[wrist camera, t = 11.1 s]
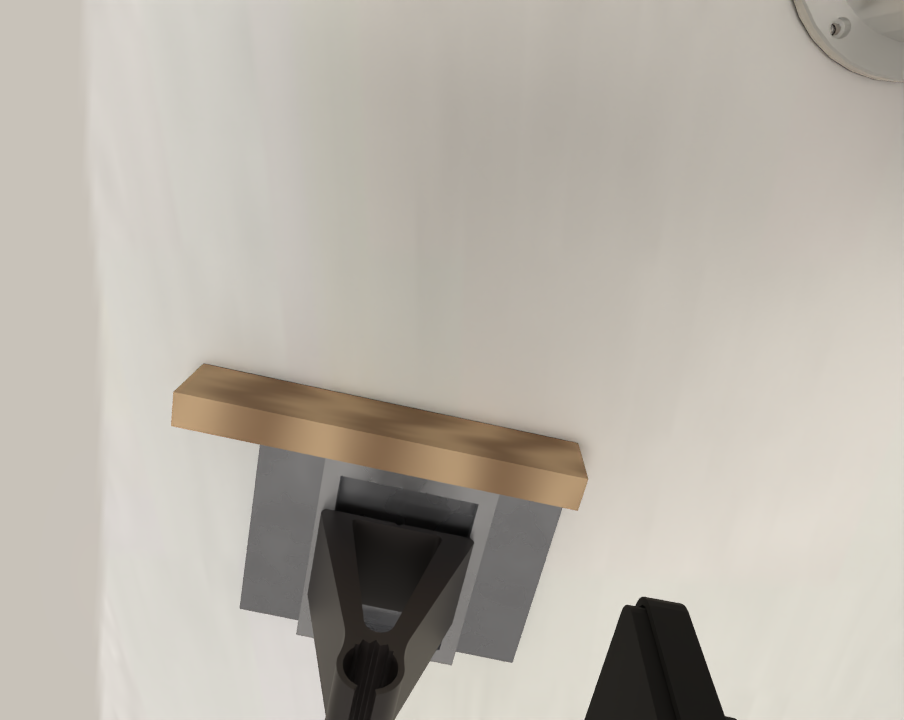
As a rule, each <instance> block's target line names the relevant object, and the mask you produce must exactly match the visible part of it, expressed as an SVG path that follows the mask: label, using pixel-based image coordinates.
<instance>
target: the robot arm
mask: <svg viewBox="0 0 904 720" xmlns="http://www.w3.org/2000/svg"><path fill="white" fill-rule="evenodd" d="M794 3H795V6H796V9H797V12H798V15H799V18H800V19H801V21H802V23H803V24H804V26H805V28H806V29H807V31H808V33H809V34H810V36H811V38H812V39H813V40H814V42H815V43H816V44H817V45H818V46H819V47H820V48H821V49H822V50H823V51H824V52H825V53H826V54H827V55H828V56H829V57H830V58H831V59H833V60H834V61H836V62H838V63H839V64H841V65H842V66H844V67H845V68H847V69H848V70H850V71H852V72H855V73H858V74H861V75H863V76H866V77H869V78H872V79H876V80H884V81H892V82H904V0H794ZM832 24H834V25H835V27H836V32H835V33H834V35H831V32H830V29H831V25H832ZM585 720H737V719H735V718H731V717H726V716H724V713H723V710H722V707H721V704H720V701H719V698H718V695H717V693H716V690H715V687H714V684H713V681H712V678H711V675H710V673H709V670H708V667H707V664H706V661H705V658H704V655H703V653H702V650H701V647H700V644H699V641H698V638H697V635H696V633H695V630H694V627H693V624H692V621H691V618H690V615H689V612H688V610H687V608H686V607H685V606H684V605H683V604H680V603H675V602H670V601H664V600H659V599H653V598H648V597H641V598H640V599H639V600H638V601H637V604H636V606H631V605H625V606H624V607H623V609H622V612H621V614H620V617H619V620H618V623H617V626H616V629H615V632H614V635H613V638H612V641H611V644H610V647H609V650H608V653H607V655H606V658H605V661H604V664H603V667H602V670H601V673H600V676H599V679H598V682H597V685H596V688H595V691H594V694H593V696H592V699H591V702H590V705H589V708H588V711H587V714H586V717H585Z"/></svg>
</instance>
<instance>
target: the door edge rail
mask: <svg viewBox="0 0 904 720" xmlns="http://www.w3.org/2000/svg"><path fill="white" fill-rule="evenodd" d="M171 426H174V427H179V428H183V429H188V430H193V431H198V432H203V433H207V434H212V435H217V436H222V437H226V438H231V439H236V440H241V441H246V442H250V443H255V444H260V445H265V446H270V447H274V448H279V449H284V450H289V451H294V452H298V453H303V454H308V455H313V456H318V457H322V458H327V459H332V460H337V461H342V462H346V463H351V464H356V465H361V466H366V467H370V468H375V469H380V470H385V471H390V472H394V473H399V474H404V475H409V476H414V477H418V478H423V479H428V480H433V481H438V482H442V483H447V484H452V485H457V486H462V487H466V488H471V489H476V490H481V491H486V492H490V493H495V494H500V495H505V496H510V497H514V498H519V499H524V500H529V501H534V502H538V503H543V504H548V505H553V506H558V507H562V508H567V509H572V510H577V511H578V508H579V505H580V502H581V499H582V496H583V493H584V490H585V487H586V484H587V481H588V477H587V473H586V469H585V466H584V462H583V459H582V455H581V452H580V448H579V445H578V443H575V442H570V441H565V440H560V439H556V438H551V437H546V436H542V435H537V434H532V433H527V432H523V431H518V430H513V429H509V428H504V427H499V426H494V425H490V424H485V423H480V422H476V421H471V420H466V419H461V418H457V417H452V416H447V415H443V414H438V413H433V412H428V411H424V410H419V409H414V408H410V407H405V406H400V405H396V404H391V403H386V402H381V401H377V400H372V399H367V398H363V397H358V396H353V395H348V394H344V393H339V392H334V391H330V390H325V389H320V388H315V387H311V386H306V385H301V384H297V383H292V382H287V381H282V380H278V379H273V378H268V377H264V376H259V375H254V374H249V373H245V372H240V371H235V370H231V369H226V368H221V367H217V366H212V365H207V364H203V365H202V366H200V367H199V368H198V369H197V370H196V371H195V372H194V373H193V374H192V375H191V376H190V377H189V378H188V379H187V380H186V381H185V382H183V383H182V384H181V385H180V386H179V387H178V388H177V389H176V390H175V391H174V392H173V406H172V420H171Z"/></svg>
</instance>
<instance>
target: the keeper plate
mask: <svg viewBox="0 0 904 720" xmlns="http://www.w3.org/2000/svg"><path fill="white" fill-rule="evenodd" d="M325 509H329V510H334V511H339V512H344V513H349V514H354V515H359V516H364V517H369V518H374V519H378V520H383V521H388V522H393V523H396V525H398V526H401V525H402V524H403V525H408V526H413V527H418V528H423V529H428V530H432V531H437V532H442V533H447V534H452V535H457V536H462V537H467V538H470V539H472V540H473V541H474V545H473V549H472V553H471V557H470V560H469V564H468V568H467V571H466V575H465V579H464V582H463V586H462V590H461V594H460V597H459V601H458V605H457V608H456V612H455V616H454V620H453V623H452V625H451V627H450V628H449V630H448V632H447V633H446V635H445V637H444V638H443V640H442V642H441V643H440V645H439V647H438V648H437V650H436V652H435V653H434V655H433V657H432V658H431V660H430V661H433V662H438V663H443V664H448V665H452V662H453V659H454V655H455V652H460V653H466V654H471V655H476V656H481V657H486V658H491V659H496V660H501V661H506V662H511V663H512V662H513V659H514V656H515V653H516V650H517V647H518V644H519V641H520V638H521V634H522V631H523V628H524V625H525V622H526V619H527V616H528V613H529V610H530V607H531V603H532V600H533V597H534V594H535V591H536V588H537V585H538V582H539V579H540V576H541V572H542V569H543V566H544V563H545V560H546V557H547V554H548V551H549V548H550V545H551V541H552V538H553V535H554V532H555V529H556V526H557V523H558V520H559V517H560V514H561V510H562V507H558V506H553V505H548V504H543V503H538V502H534V501H529V500H524V499H519V498H514V497H510V496H505V495H500V494H495V493H490V492H486V491H481V490H476V489H471V488H466V487H462V486H457V485H452V484H447V483H442V482H438V481H433V480H428V479H423V478H418V477H414V476H409V475H404V474H399V473H394V472H390V471H385V470H380V469H375V468H370V467H366V466H361V465H356V464H351V463H346V462H342V461H337V460H332V459H327V458H322V457H318V456H313V455H308V454H303V453H298V452H294V451H289V450H284V449H279V448H274V447H270V446H265V445H260V450H259V458H258V466H257V474H256V482H255V490H254V498H253V506H252V514H251V522H250V530H249V538H248V546H247V554H246V562H245V570H244V578H243V586H242V594H241V602H240V609H244V610H249V611H254V612H259V613H265V614H270V615H275V616H280V617H285V618H290V619H295V620H299V621H298V627H297V633H296V635H301V636H306V637H312V638H314V635H313V628H312V622H311V615H310V609H309V602H308V595H307V594H308V588H309V582H310V576H311V570H312V564H313V558H314V552H315V546H316V540H317V534H318V528H319V522H320V516H321V511H322V510H325ZM362 608H363V616H364V622H365V624H366V626H367V627H368V628H369V629H371V630H373V631H375V632H387V631H390V630H391V629H392V628H393V627H394V626H395V624H396V622H397V620H398V619H399V617H400V615H401V613H402V612H398V611H393V610H388V609H383V608H378V607H373V606H368V605H363V604H362Z"/></svg>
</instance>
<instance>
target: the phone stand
mask: <svg viewBox="0 0 904 720" xmlns="http://www.w3.org/2000/svg"><path fill="white" fill-rule="evenodd" d="M473 545H474V541H473V540H472V539H470V538H467V537H462V536H457V535H452V534H447V533H442V532H437V531H432V530H428V529H423V528H418V527H413V526H408V525H403V524H402V525H401V526H398V525H396V523H393V522H388V521H383V520H378V519H374V518H369V517H364V516H359V515H354V514H349V513H344V512H339V511H334V510H329V509H325V510H322V511H321V516H320V522H319V528H318V534H317V540H316V546H315V552H314V558H313V564H312V570H311V576H310V582H309V588H308V594H307V595H308V602H309V609H310V615H311V622H312V628H313V635H314V642H315V648H316V655H317V661H318V668H319V675H320V681H321V688H322V694H323V701H324V707H325V714H326V718H325V720H395V718H396V716H397V715H398V713H399V711H400V710H401V708H402V706H403V705H404V703H405V701H406V700H407V698H408V696H409V695H410V693H411V691H412V690H413V688H414V686H415V685H416V683H417V681H418V680H419V678H420V676H421V675H422V673H423V671H424V670H425V668H426V667H427V665H428V663H429V662H430V660H431V658H432V657H433V655H434V653H435V652H436V650H437V648H438V647H439V645H440V643H441V642H442V640H443V638H444V637H445V635H446V633H447V632H448V630H449V628H450V627H451V625H452V623H453V620H454V616H455V612H456V608H457V605H458V601H459V597H460V594H461V590H462V586H463V582H464V579H465V575H466V571H467V568H468V564H469V560H470V557H471V553H472V549H473ZM362 604H363V605H368V606H373V607H378V608H383V609H388V610H393V611H398V612H402V613H401V615H400V617H399V619H398V620H397V622H396V624H395V626H394V627H393V628H392V629H391V630H390V631H387V632H375V631H373V630H371V629H369V628H368V627H367V626H366V624H365V622H364V616H363V608H362Z"/></svg>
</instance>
